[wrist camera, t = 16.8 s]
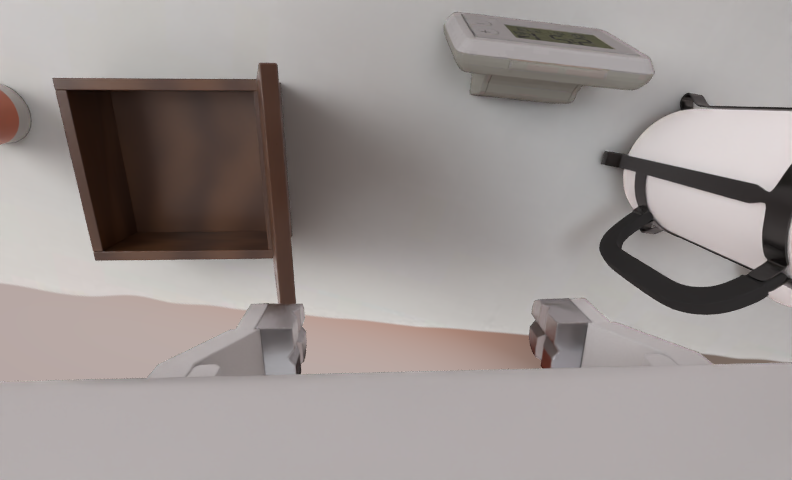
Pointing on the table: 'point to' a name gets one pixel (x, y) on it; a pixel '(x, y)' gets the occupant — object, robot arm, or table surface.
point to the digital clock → (541, 58)
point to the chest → (169, 166)
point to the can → (13, 116)
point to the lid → (276, 180)
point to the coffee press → (710, 200)
